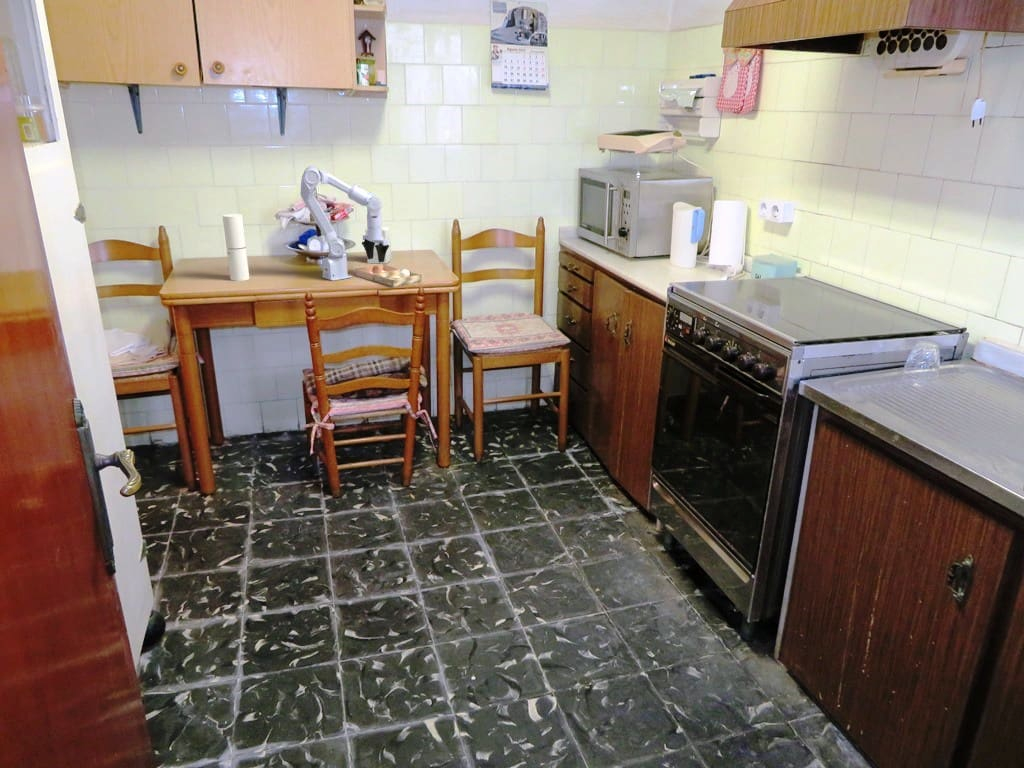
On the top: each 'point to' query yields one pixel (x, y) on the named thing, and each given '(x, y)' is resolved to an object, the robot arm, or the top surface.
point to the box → (396, 278)
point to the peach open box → (368, 274)
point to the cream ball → (404, 273)
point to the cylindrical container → (236, 247)
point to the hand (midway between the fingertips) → (375, 260)
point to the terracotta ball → (376, 269)
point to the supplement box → (386, 236)
